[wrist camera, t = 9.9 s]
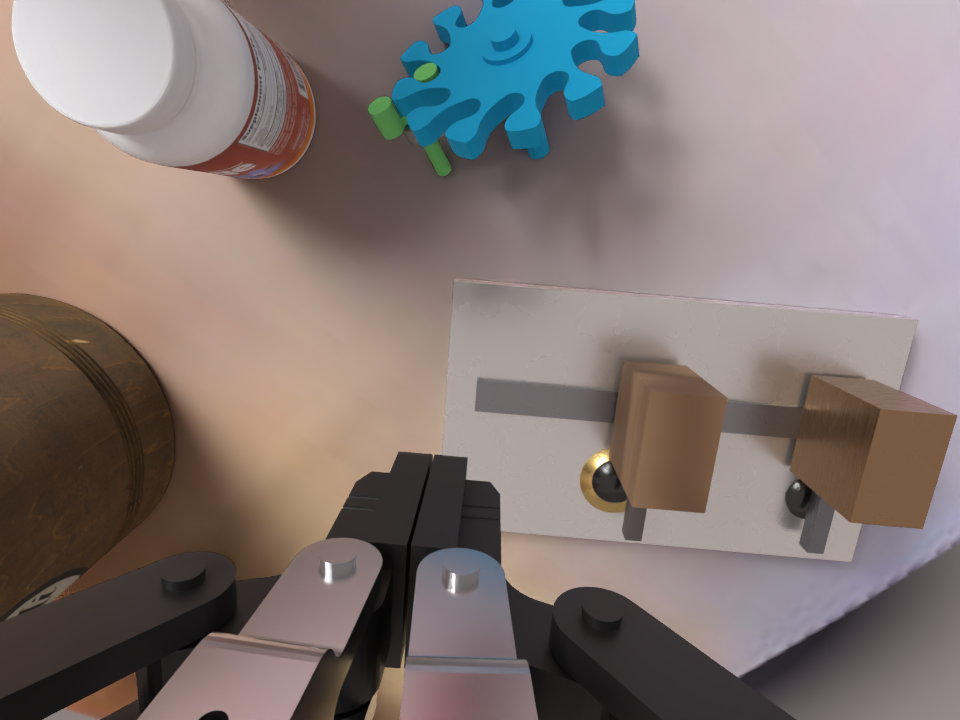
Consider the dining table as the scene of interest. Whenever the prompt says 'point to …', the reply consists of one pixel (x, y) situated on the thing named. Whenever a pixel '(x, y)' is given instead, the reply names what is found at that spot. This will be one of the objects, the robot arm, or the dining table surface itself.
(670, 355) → the plate
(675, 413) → the sliding block
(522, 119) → the gear
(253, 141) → the pill bottle
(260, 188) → the dining table surface
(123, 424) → the wooden container
